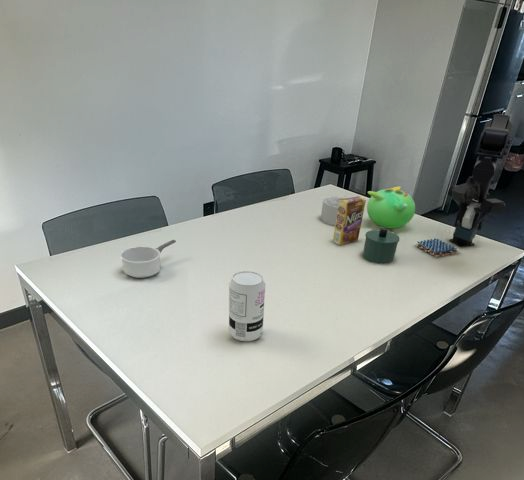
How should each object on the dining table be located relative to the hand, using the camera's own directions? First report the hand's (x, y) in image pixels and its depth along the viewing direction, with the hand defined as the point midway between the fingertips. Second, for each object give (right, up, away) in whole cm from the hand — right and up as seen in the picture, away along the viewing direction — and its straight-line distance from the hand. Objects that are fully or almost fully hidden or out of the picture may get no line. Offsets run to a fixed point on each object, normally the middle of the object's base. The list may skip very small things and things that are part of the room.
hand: (466, 225), depth 147 cm
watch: (0, -3, +2) cm, 4 cm away
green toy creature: (-17, +8, +32) cm, 37 cm away
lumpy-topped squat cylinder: (-37, +11, +34) cm, 51 cm away
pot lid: (-27, -3, +3) cm, 27 cm away
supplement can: (-70, -36, -35) cm, 86 cm away
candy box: (-36, -1, +17) cm, 40 cm away
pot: (-27, -9, +7) cm, 29 cm away
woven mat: (-5, -5, +15) cm, 16 cm away
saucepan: (-99, -15, -7) cm, 101 cm away
